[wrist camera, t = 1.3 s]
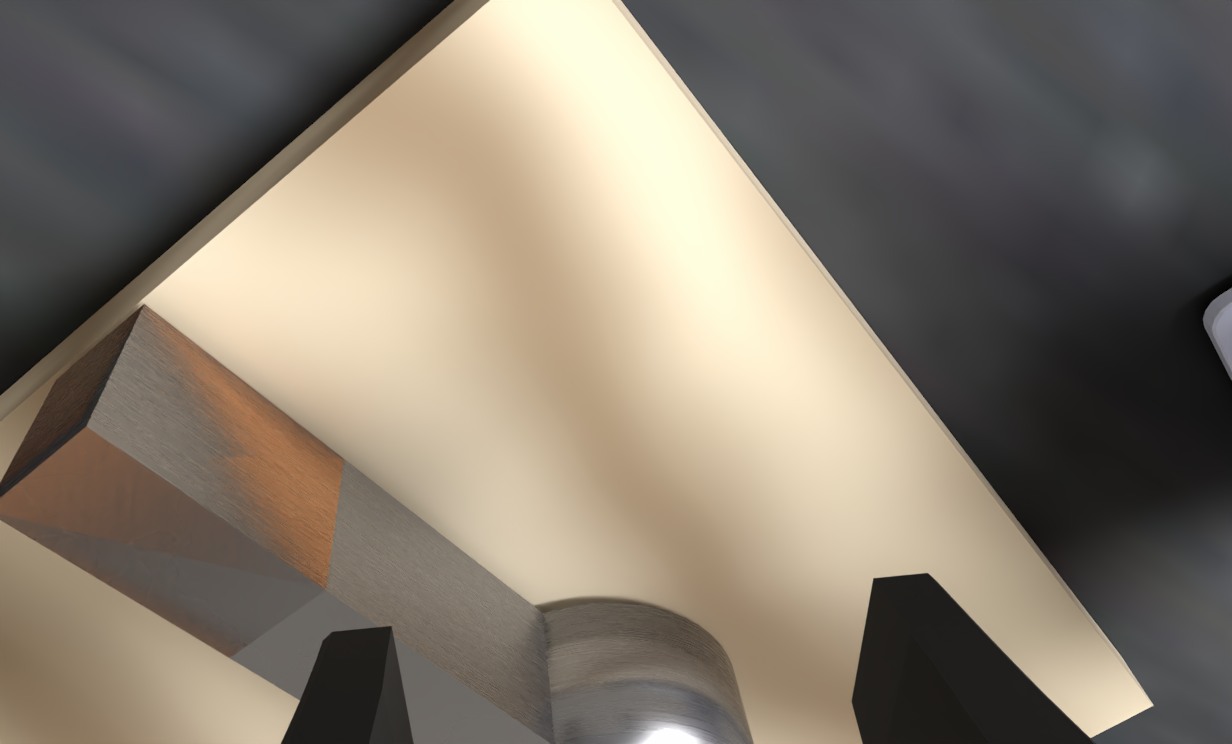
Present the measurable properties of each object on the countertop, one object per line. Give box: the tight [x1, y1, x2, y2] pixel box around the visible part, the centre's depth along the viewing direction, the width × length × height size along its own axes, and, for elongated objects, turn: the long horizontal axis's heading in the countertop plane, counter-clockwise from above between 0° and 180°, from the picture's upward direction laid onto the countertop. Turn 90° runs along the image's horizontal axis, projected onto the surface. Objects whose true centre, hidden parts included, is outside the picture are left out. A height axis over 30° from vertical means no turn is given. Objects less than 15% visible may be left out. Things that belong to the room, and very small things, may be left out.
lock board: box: [0, 0, 1153, 744], centre depth 23 cm, size 22×22×2 cm
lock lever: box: [0, 304, 754, 744], centre depth 19 cm, size 15×6×3 cm, turn 38°
